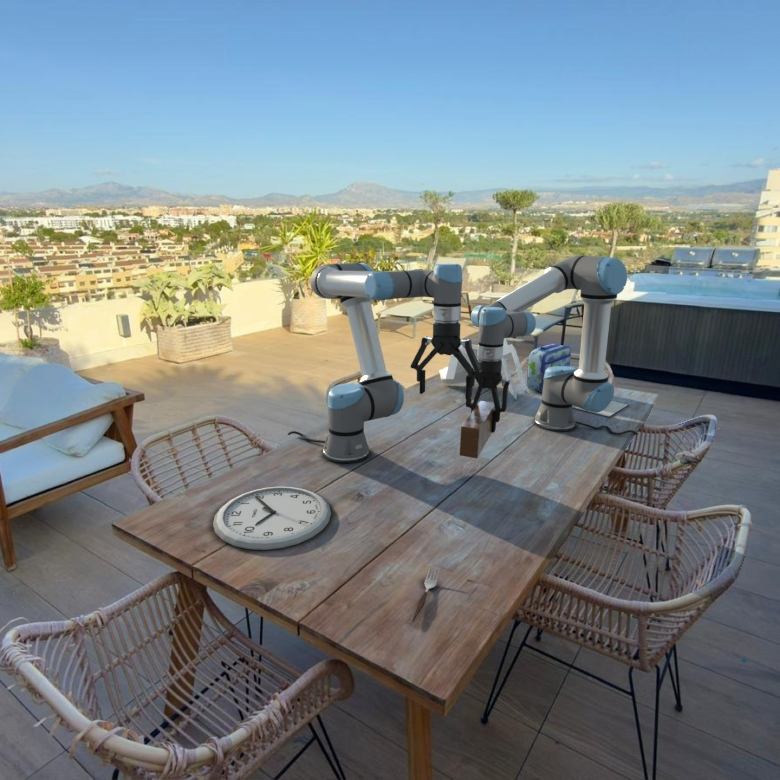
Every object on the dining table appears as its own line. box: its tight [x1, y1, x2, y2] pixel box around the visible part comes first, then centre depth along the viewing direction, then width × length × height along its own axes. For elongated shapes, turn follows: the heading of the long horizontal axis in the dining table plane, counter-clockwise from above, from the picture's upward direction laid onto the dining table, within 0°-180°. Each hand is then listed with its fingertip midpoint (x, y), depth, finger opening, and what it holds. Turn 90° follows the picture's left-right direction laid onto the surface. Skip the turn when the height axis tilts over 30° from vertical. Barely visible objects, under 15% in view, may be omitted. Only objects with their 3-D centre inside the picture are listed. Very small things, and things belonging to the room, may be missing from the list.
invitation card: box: [573, 400, 629, 418], centre depth 226 cm, size 21×1×15 cm
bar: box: [459, 400, 495, 459], centre depth 157 cm, size 24×5×9 cm, turn 158°
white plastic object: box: [438, 338, 531, 400], centre depth 245 cm, size 37×45×31 cm
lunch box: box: [526, 343, 572, 394], centre depth 248 cm, size 26×11×21 cm, turn 135°
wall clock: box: [212, 486, 332, 551], centre depth 136 cm, size 30×2×30 cm
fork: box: [412, 565, 441, 623], centre depth 107 cm, size 3×16×2 cm, turn 160°
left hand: (444, 395), depth 150 cm, fingers open, 13 cm apart
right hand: (484, 429), depth 166 cm, fingers closed on bar, 5 cm apart
